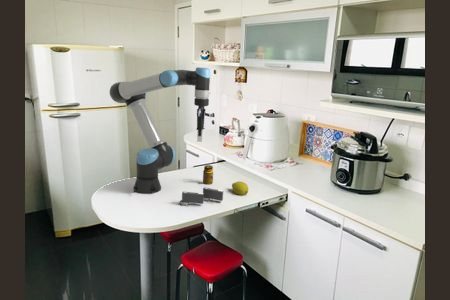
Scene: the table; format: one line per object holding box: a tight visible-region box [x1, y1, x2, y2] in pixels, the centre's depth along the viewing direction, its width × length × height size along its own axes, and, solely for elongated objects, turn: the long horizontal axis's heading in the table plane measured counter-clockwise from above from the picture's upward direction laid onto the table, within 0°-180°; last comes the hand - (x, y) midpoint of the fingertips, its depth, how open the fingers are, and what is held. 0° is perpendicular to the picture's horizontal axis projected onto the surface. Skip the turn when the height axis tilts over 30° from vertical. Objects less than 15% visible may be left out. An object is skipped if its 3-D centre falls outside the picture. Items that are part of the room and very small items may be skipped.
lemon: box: [231, 180, 249, 196], centre depth 184 cm, size 11×8×8 cm
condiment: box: [197, 164, 214, 186], centre depth 195 cm, size 7×8×12 cm
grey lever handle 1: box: [179, 190, 204, 207], centre depth 165 cm, size 12×5×6 cm, turn 87°
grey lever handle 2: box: [202, 187, 224, 202], centre depth 172 cm, size 12×5×6 cm, turn 72°
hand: (199, 141), depth 176 cm, fingers closed
